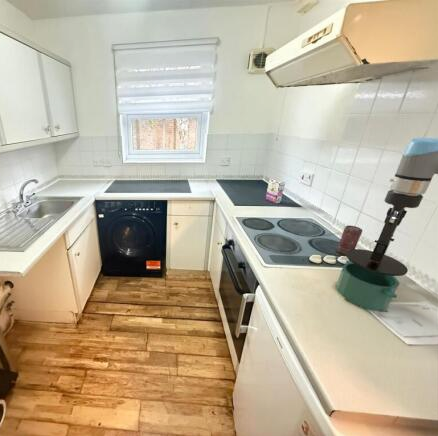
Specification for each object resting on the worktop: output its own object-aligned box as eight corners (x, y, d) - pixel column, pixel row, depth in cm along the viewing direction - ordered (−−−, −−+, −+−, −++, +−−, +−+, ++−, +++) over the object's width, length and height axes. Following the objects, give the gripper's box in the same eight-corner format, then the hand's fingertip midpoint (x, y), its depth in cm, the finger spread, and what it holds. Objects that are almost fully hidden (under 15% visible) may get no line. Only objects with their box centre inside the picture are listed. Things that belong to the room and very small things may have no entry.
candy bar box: (280, 203, 180) (285, 182, 174) (275, 204, 179) (279, 182, 173) (270, 199, 190) (274, 179, 184) (264, 199, 189) (268, 179, 183)
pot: (361, 279, 95) (370, 259, 91) (407, 318, 77) (420, 295, 73) (323, 277, 96) (330, 257, 93) (358, 314, 78) (368, 291, 74)
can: (355, 258, 109) (365, 231, 104) (338, 256, 111) (348, 229, 106) (349, 252, 114) (359, 226, 109) (334, 250, 116) (343, 224, 111)
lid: (380, 253, 88) (390, 230, 84) (420, 279, 73) (434, 253, 70) (335, 250, 89) (343, 228, 85) (366, 276, 75) (377, 250, 71)
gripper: (393, 185, 78) (367, 247, 88) (383, 194, 69) (356, 262, 78) (426, 190, 73) (395, 255, 82) (421, 200, 64) (386, 272, 73)
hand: (376, 258), depth 80 cm, fingers closed on lid, 3 cm apart
